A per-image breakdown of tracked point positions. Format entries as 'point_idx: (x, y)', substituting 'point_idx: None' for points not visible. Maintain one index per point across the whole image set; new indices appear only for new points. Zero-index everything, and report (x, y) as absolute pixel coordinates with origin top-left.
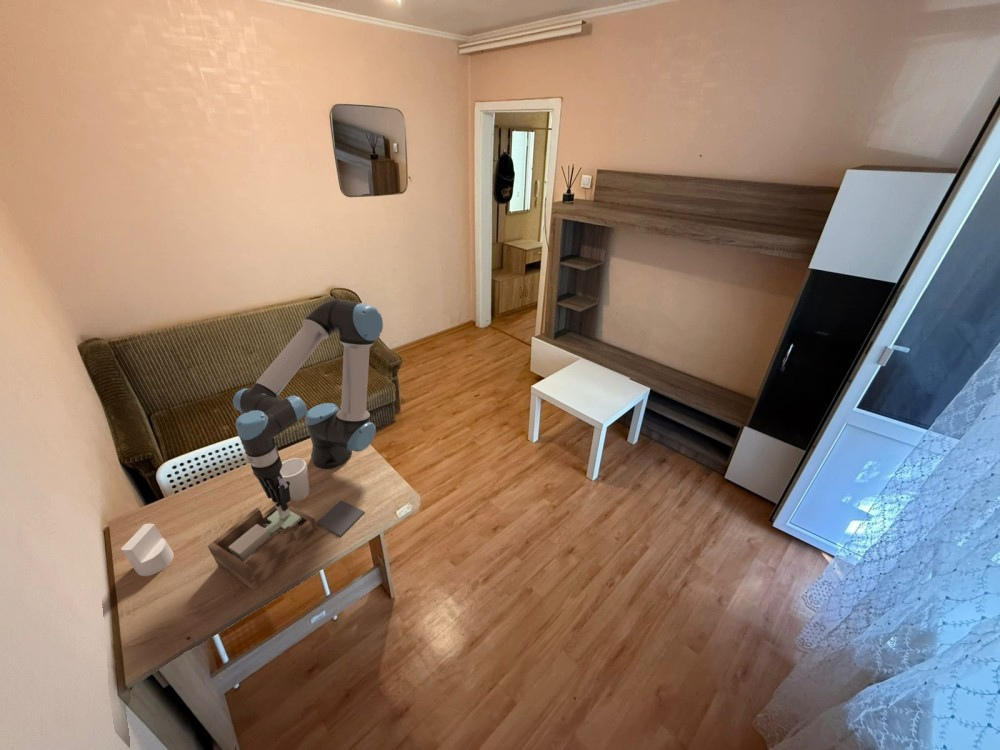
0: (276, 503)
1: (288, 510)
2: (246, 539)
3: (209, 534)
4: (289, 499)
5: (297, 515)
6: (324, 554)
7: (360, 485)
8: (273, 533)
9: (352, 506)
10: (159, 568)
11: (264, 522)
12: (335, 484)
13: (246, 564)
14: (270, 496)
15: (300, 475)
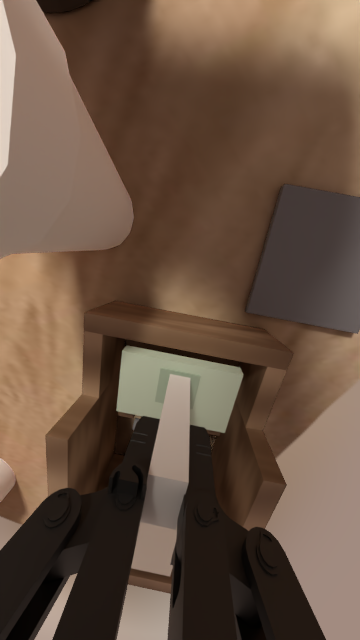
0: (155, 523)
1: (189, 396)
2: (144, 541)
3: (7, 408)
4: (301, 604)
5: (223, 372)
6: (326, 390)
7: (332, 47)
8: None
9: (353, 201)
10: (8, 489)
11: (108, 386)
12: (203, 99)
13: None
14: (68, 573)
15: (56, 135)
